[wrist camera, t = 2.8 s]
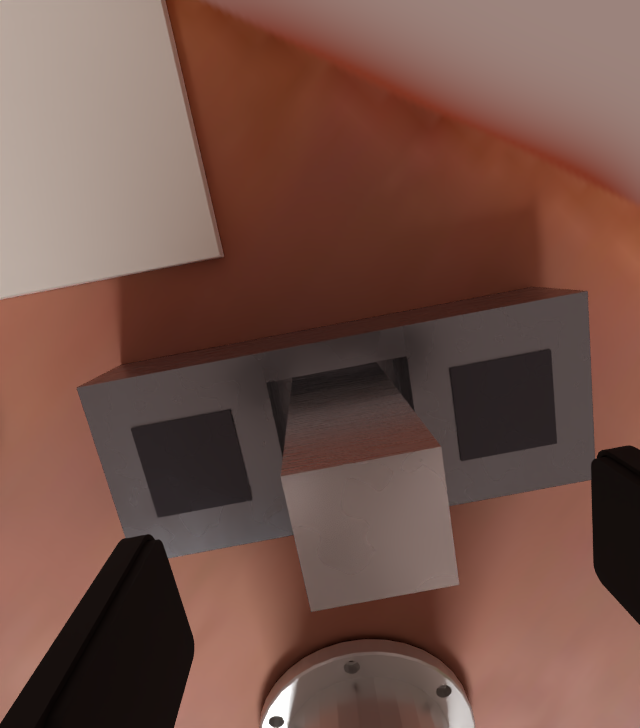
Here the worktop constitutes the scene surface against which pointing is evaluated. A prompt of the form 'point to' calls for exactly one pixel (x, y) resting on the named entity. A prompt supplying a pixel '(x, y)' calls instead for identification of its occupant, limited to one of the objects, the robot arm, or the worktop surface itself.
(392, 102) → the worktop surface
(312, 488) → the steel block
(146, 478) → the grey compartment holder
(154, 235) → the pad
